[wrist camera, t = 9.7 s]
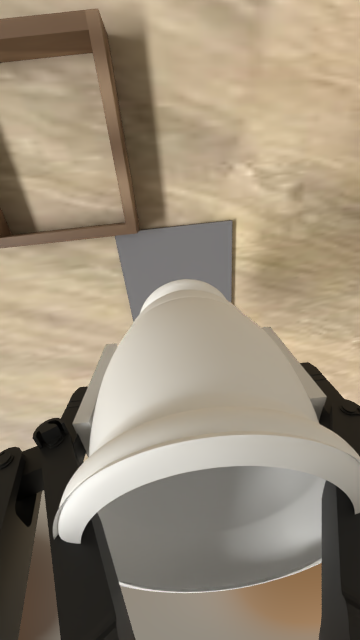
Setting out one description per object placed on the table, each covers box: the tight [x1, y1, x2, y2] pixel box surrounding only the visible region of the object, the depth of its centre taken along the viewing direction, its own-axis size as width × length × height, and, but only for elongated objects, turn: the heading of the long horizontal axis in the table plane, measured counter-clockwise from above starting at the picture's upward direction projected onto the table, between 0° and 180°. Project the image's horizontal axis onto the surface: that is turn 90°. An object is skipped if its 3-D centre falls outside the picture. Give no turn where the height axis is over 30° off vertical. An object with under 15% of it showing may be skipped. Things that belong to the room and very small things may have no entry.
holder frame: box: [0, 9, 140, 248], centre depth 22 cm, size 16×16×3 cm
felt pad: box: [115, 220, 232, 322], centre depth 30 cm, size 14×14×1 cm
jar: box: [53, 279, 360, 593], centre depth 14 cm, size 11×10×15 cm
